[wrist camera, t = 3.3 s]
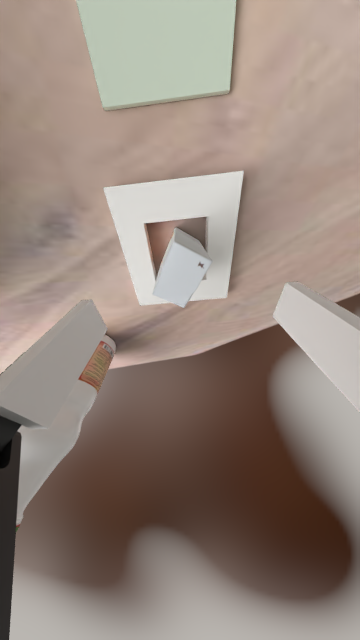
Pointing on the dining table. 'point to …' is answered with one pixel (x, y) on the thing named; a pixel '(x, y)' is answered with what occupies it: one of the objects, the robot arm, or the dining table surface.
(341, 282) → the dining table surface
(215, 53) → the pad
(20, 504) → the fruit juice
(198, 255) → the skincare box
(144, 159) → the dining table surface
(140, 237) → the white frame
